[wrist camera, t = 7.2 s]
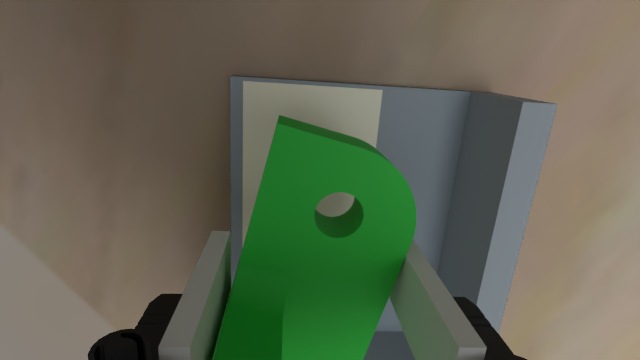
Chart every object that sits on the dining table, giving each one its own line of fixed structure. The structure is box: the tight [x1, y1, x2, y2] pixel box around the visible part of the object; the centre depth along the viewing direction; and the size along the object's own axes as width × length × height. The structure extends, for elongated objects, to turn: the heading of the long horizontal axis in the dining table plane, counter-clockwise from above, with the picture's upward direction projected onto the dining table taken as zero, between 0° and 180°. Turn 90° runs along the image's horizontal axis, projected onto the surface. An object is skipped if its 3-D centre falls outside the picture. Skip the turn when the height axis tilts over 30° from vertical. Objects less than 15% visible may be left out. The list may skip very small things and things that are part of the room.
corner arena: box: [230, 76, 557, 360], centre depth 21 cm, size 18×15×6 cm
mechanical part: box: [212, 115, 416, 360], centre depth 13 cm, size 12×6×8 cm, turn 163°
